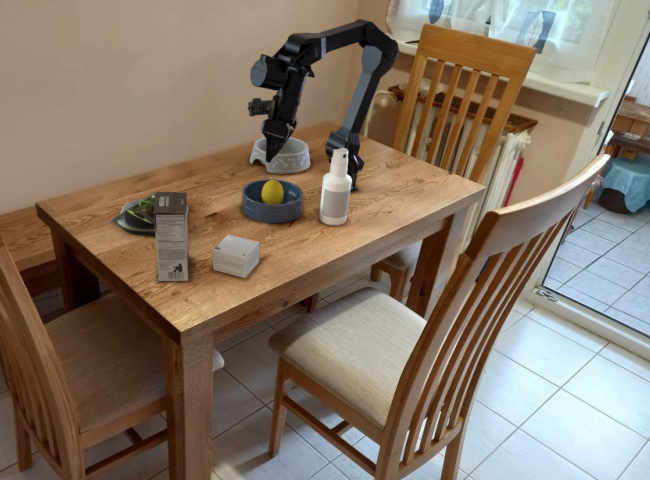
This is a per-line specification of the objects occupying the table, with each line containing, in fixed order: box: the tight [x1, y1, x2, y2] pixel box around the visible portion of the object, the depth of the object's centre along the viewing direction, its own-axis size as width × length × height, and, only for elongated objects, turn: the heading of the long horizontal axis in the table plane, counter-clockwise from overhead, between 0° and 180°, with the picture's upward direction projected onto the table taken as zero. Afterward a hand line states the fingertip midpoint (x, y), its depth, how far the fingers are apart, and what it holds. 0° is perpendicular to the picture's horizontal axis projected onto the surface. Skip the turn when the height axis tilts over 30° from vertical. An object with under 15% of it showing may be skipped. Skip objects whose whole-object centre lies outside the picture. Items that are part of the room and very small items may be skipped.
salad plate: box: [109, 192, 189, 237], centre depth 141 cm, size 19×18×5 cm
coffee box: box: [154, 191, 190, 282], centre depth 119 cm, size 9×6×16 cm
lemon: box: [262, 178, 284, 205], centre depth 145 cm, size 6×6×8 cm
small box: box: [212, 234, 261, 279], centre depth 124 cm, size 8×8×5 cm
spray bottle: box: [318, 148, 352, 226], centre depth 139 cm, size 7×7×18 cm
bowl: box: [241, 178, 304, 224], centre depth 146 cm, size 15×15×5 cm
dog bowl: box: [249, 136, 311, 175], centre depth 172 cm, size 17×18×5 cm
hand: (270, 158), depth 140 cm, fingers open, 9 cm apart
